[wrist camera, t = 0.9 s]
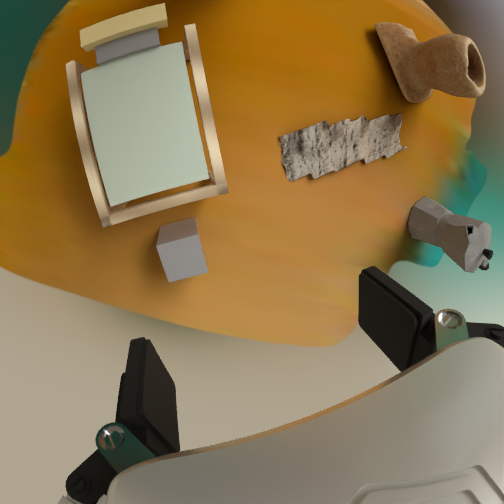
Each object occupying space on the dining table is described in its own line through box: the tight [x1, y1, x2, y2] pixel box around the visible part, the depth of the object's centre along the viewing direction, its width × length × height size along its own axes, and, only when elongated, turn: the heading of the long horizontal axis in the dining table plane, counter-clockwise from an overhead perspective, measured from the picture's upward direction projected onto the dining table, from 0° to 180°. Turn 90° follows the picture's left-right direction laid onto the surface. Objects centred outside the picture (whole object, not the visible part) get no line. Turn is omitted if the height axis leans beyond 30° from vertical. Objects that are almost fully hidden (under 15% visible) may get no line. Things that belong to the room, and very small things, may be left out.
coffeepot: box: [408, 197, 493, 273], centre depth 40 cm, size 15×9×18 cm, turn 54°
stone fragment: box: [279, 113, 407, 181], centre depth 37 cm, size 25×3×10 cm
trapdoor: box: [80, 3, 209, 206], centre depth 20 cm, size 18×10×3 cm, turn 10°
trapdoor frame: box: [66, 24, 228, 228], centre depth 26 cm, size 18×13×10 cm
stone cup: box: [375, 22, 486, 103], centre depth 27 cm, size 15×12×15 cm
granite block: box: [156, 217, 208, 283], centre depth 35 cm, size 5×5×7 cm
